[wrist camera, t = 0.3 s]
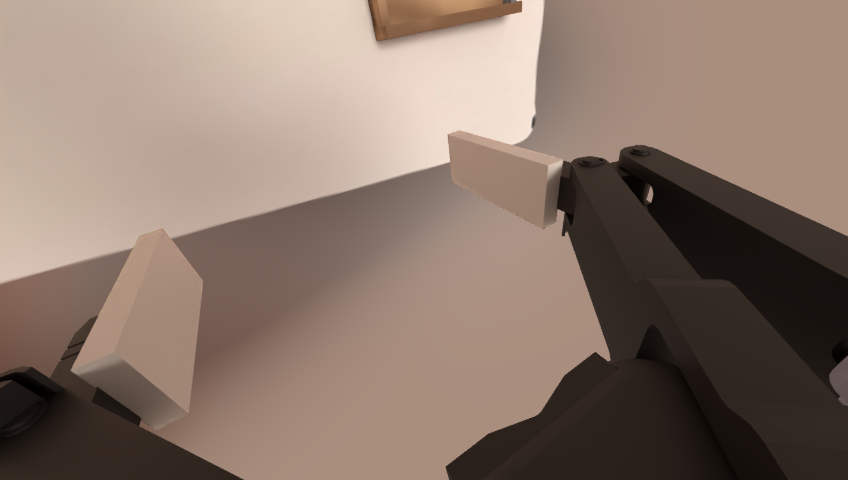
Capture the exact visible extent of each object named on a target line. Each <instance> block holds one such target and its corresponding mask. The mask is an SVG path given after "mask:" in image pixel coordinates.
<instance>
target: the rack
mask: <svg viewBox="0 0 848 480" xmlns="http://www.w3.org/2000/svg"><path fill="white" fill-rule="evenodd" d="M368 2H369V7H370V11H371V16H372V21H373V26H374V31H375V35H376V40H377V41H378V40H383V39H389V38H394V37H399V36H404V35H409V34H414V33H419V32H424V31H429V30H434V29H439V28H444V27H449V26H454V25H459V24H464V23H469V22H474V21H479V20H484V19H489V18H494V17H499V16H504V15H509V14H514V13H519V12H522V1H518V2H516V0H368Z"/></svg>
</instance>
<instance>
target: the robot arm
mask: <svg viewBox="0 0 848 480" xmlns="http://www.w3.org/2000/svg"><path fill="white" fill-rule="evenodd" d="M448 144H449V153H450V163H451V172H452V182H453V183H455V184H457V185H459V186H461V187H462V188H464V189H467V190H468V191H470V192H472V193H474V194H476V195H478V196H480V197H482V198H484V199H486V200H488V201H490V202H491V203H493V204H495V205H497V206H499V207H501V208H503V209H505V210H507V211H509V212H511V213H513V214H515V215H517V216H519V217H520V218H522V219H524V220H526V221H528V222H530V223H532V224H534V225H536V226H538V227H540V228H542V229H544V228H546V227H548V226H549V225H551V224H553V223H555V222H556V217H557V209H559V210H561V211H564V212H565V214H564V222H563V229H562V236H565V233H566V232H567V231H568V234H569V237H570V240H571V243H572V246H573V249H574V251H575V254H576V257H577V260H578V263H579V266H580V269H581V271H582V275H583V277H584V280H585V283H586V286H587V289H588V292H589V295H590V297H591V300H592V303H593V306H594V309H595V312H596V315H597V317H598V320H599V323H600V326H601V329H602V332H603V335H604V338H605V341H606V344H607V346H608V349H609V353H610V359H611V361H606V360H605V359H604V358H603V357H601V356H600V355H599V354H597V353H596V352H595V353H593V354H592V355H591V356H590V357H588V358H587V359H585V360H584V361H583V362H581V363H580V364H579V365H577V367H575V368H574V369H572V370H571V371H570V372H568V373H567V374H566V375H565V376H564V377H563V379H562V380H561V382H560V383H559V385H558V386H557V388H556V389H555V391H554V393H553V394H552V396H551V397H550V399H549V400H548V402H547V404H546V405H545V407H544V408H543V410H542V411H541V412H540V413H539V414H538V415H537V416H535V417H532V418H529V419H527V420H524V421H521V422H519V423H516V424H513V425H511V426H508V427H505V428H503V429H500V430H497V431H495V432H492V433H489V434H488V435H486V436H485V437H484V438H482V439H481V440H480V441H478V442H477V443H476V444H475V445H473V446H472V447H471V448H469V449H468V450H467V451H466V452H464V453H463V454H462V455H460V456H459V457H458V458H456V459H455V460H454V461H453V462H451V463H450V464H449V465H447V466H446V470H447V474H448V477H449V480H848V236H846V235H843V234H841V233H839V232H837V231H835V230H833V229H830V228H828V227H826V226H824V225H822V224H820V223H817V222H815V221H813V220H810V219H809V218H806V217H804V216H802V215H800V214H797V213H795V212H793V211H791V210H789V209H787V208H785V207H782V206H780V205H778V204H776V203H774V202H771V201H769V200H767V199H765V198H763V197H760V196H758V195H756V194H754V193H752V192H750V191H747V190H745V189H743V188H741V187H739V186H737V185H734V184H732V183H730V182H728V181H726V180H723V179H721V178H719V177H717V176H715V175H712V174H710V173H708V172H706V171H704V170H701V169H699V168H697V167H695V166H693V165H690V164H688V163H686V162H684V161H682V160H680V159H678V158H675V157H673V156H671V155H669V154H667V153H664V152H662V151H660V150H658V149H655V148H652V147H647V146H645V145H635V146H631V147H626V148H623V149H622V150H621V151H620V156H619V160H618V161H617V162H612V163H609V162H608V161H607V160H605V159H603V158H598V157H592V156H588V157H582V158H577V159H575V160H573V161H572V162H571V163H570V162H566V161H563V159H560V158H556V157H552V156H549V155H545V154H542V153H538V152H535V151H531V150H527V149H524V148H520V147H517V146H513V145H510V144H506V143H502V142H499V141H495V140H492V139H488V138H484V137H481V136H477V135H474V134H470V133H467V132H463V131H456V132H453V133H450V134H448ZM650 186H651V187H652V189H653V198H652V202H651V203H650V202H648V201H647V200H646V199H647V196H648V193H649V189H650ZM202 288H203V280H202V279H201V278H200V276H199V275H198V274H197V272H196V271H195V270H194V268H193V267H192V266H191V265H190V263H189V262H188V261H187V259H186V258H185V257H184V256H183V254H182V253H181V252H180V250H179V249H178V248H177V246H176V245H175V244H174V242H173V241H172V240H171V238H170V237H169V236H168V234H167V233H166V232H165V231H164V229H163V228H162V229H159V230H156V231H153V232H150V233H147V234H144V235H141V236H139V238H138V240H137V242H136V244H135V246H134V248H133V250H132V252H131V254H130V255H129V257H128V259H127V261H126V263H125V265H124V267H123V269H122V271H121V273H120V275H119V277H118V279H117V281H116V283H115V285H114V287H113V289H112V291H111V292H110V295H109V296H108V299H107V300H106V302H105V304H104V306H103V308H102V310H101V312H100V314H99V315H98V316H96V317H93V318H90V319H89V320H88V321H87V322H86V323H85V325H83V326H82V327H81V328H80V329H79V330H78V331H77V332H76V333H75V335H74V336H73V338H72V340H71V342H70V343H69V345H68V347H67V348H68V350H66V351H65V352H64V354H63V356H62V358H61V360H62V361H60V362H59V363H58V365H57V366H56V368H55V370H54V372H53V374H52V375H51V377H50V378H48V377H47V376H45V375H43V374H42V373H40V372H39V371H37V370H36V369H34V368H33V367H25V366H23V367H19V368H15V369H11V370H8V371H6V372H4V373H2V374H0V480H243V479H241V478H239V477H237V476H236V475H234V474H231V473H230V472H228V471H226V470H224V469H221V468H220V467H218V466H216V465H214V464H212V463H210V462H208V461H206V460H204V459H202V458H200V457H198V456H196V455H194V454H192V453H190V452H188V451H187V450H185V449H183V448H181V447H179V446H177V445H175V444H173V443H171V442H169V441H167V440H165V439H163V438H161V437H159V436H157V435H155V434H153V433H151V432H149V431H147V430H145V429H143V428H141V427H139V424H140V420H142V421H143V422H144V423H146V424H147V425H149V426H150V427H152V428H153V429H154V430H158V429H160V428H162V427H163V426H166V425H167V424H169V423H171V422H173V421H175V420H177V419H179V418H181V417H183V416H185V415H187V414H188V413H189V405H190V396H191V388H192V378H193V369H194V360H195V351H196V342H197V332H198V324H199V315H200V305H201V297H202Z"/></svg>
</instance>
